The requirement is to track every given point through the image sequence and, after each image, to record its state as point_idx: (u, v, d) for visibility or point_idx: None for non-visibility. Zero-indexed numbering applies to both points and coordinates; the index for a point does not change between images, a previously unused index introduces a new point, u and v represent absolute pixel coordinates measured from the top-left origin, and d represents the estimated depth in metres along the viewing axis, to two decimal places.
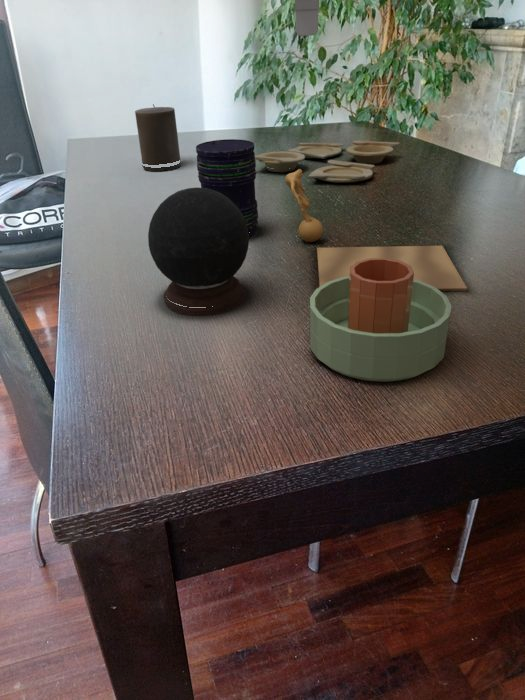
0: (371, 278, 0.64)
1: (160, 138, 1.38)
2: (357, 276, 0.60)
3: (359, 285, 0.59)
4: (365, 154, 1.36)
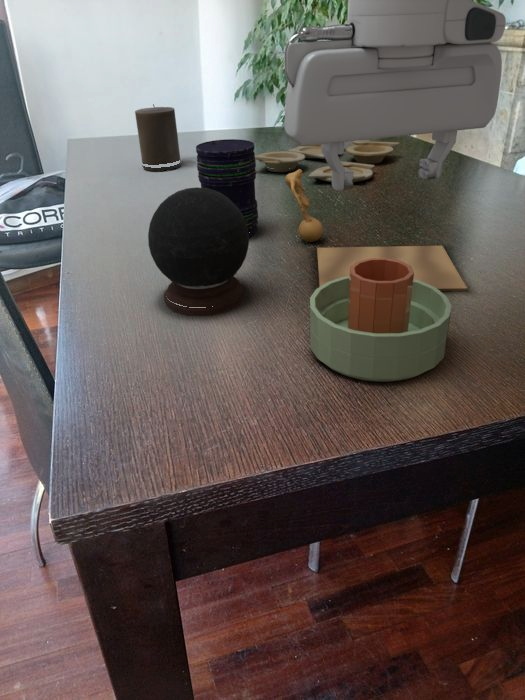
0: (371, 278, 0.64)
1: (160, 138, 1.38)
2: (357, 276, 0.60)
3: (359, 285, 0.59)
4: (365, 154, 1.36)
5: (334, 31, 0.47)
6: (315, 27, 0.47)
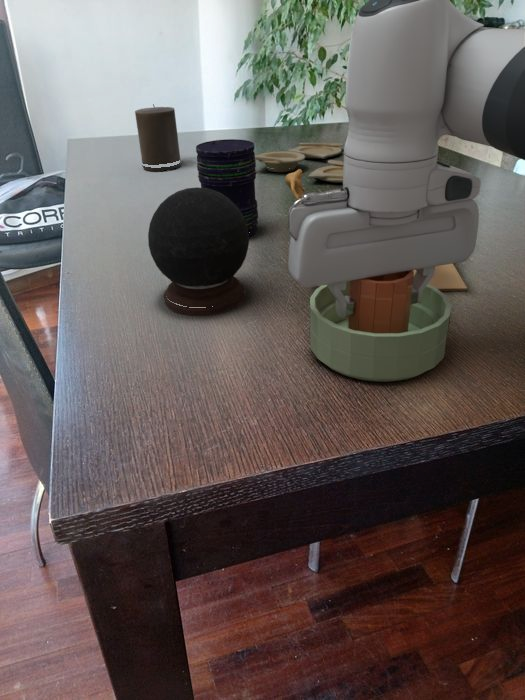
0: (371, 278, 0.64)
1: (160, 138, 1.38)
2: None
3: (359, 285, 0.59)
4: None
5: (331, 196, 0.54)
6: (315, 194, 0.54)
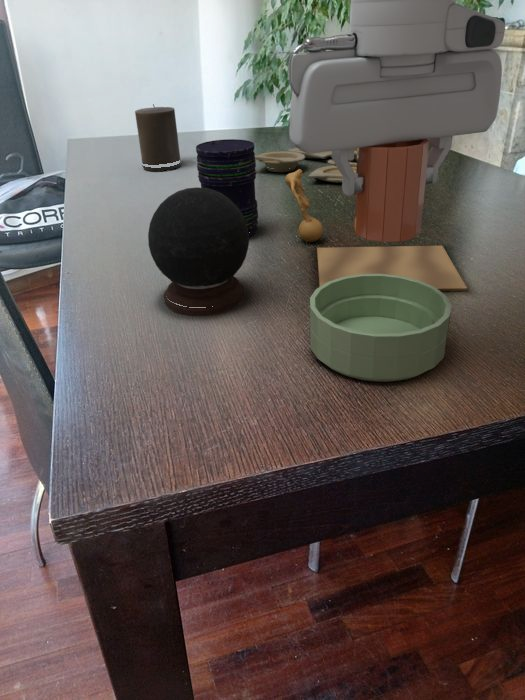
0: None
1: (160, 138, 1.38)
2: None
3: (368, 155, 0.53)
4: None
5: (337, 41, 0.48)
6: (318, 38, 0.48)
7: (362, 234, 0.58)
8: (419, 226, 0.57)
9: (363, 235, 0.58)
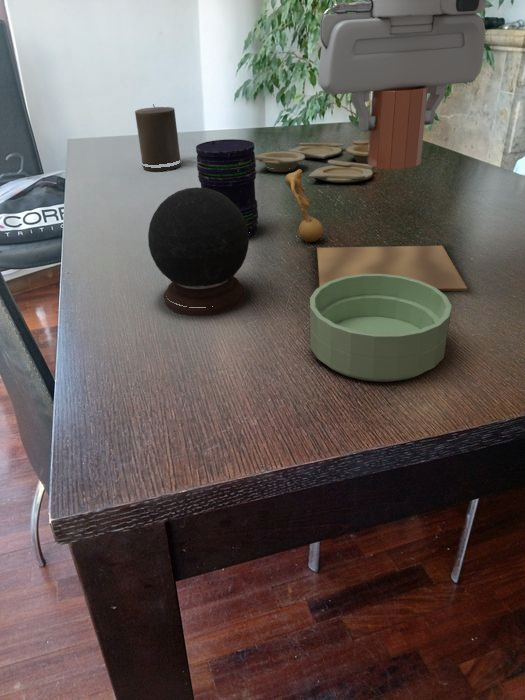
0: None
1: (160, 138, 1.38)
2: None
3: (380, 97, 0.68)
4: (365, 154, 1.36)
5: (358, 5, 0.63)
6: (343, 2, 0.63)
7: (374, 164, 0.72)
8: (419, 158, 0.72)
9: (374, 165, 0.72)
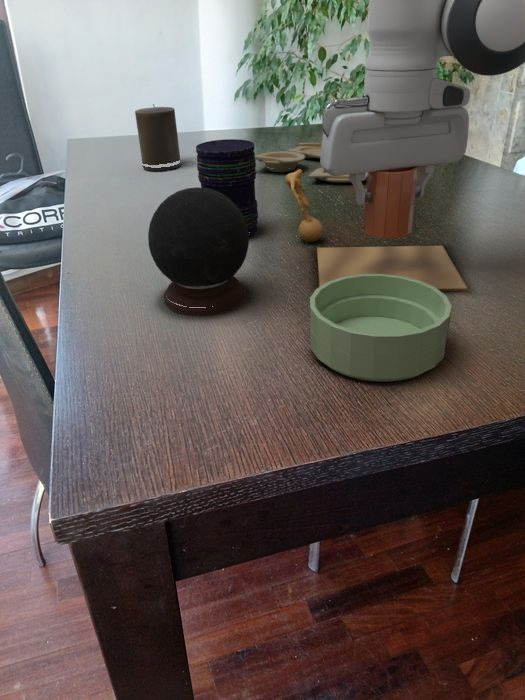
0: None
1: (160, 138, 1.38)
2: None
3: (375, 177, 0.76)
4: None
5: (355, 101, 0.71)
6: (343, 99, 0.71)
7: (370, 232, 0.80)
8: (410, 227, 0.80)
9: (370, 233, 0.80)
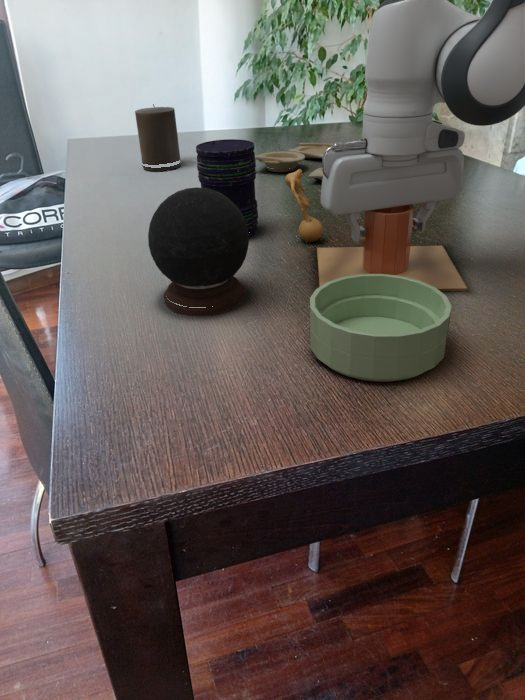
0: None
1: (160, 138, 1.38)
2: (371, 210, 0.79)
3: (372, 217, 0.79)
4: None
5: (354, 144, 0.74)
6: (342, 142, 0.73)
7: (368, 269, 0.83)
8: (407, 264, 0.83)
9: (368, 270, 0.83)
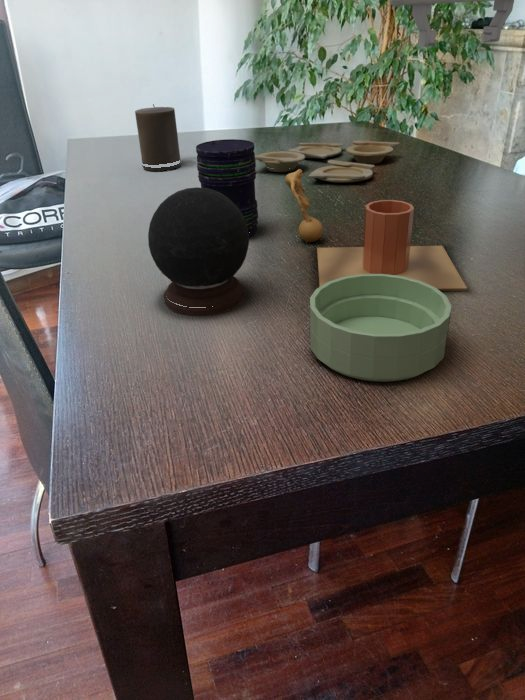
0: None
1: (160, 138, 1.38)
2: (371, 210, 0.79)
3: (372, 217, 0.79)
4: (365, 154, 1.36)
5: None
6: None
7: (368, 269, 0.83)
8: (407, 264, 0.83)
9: (368, 270, 0.83)
